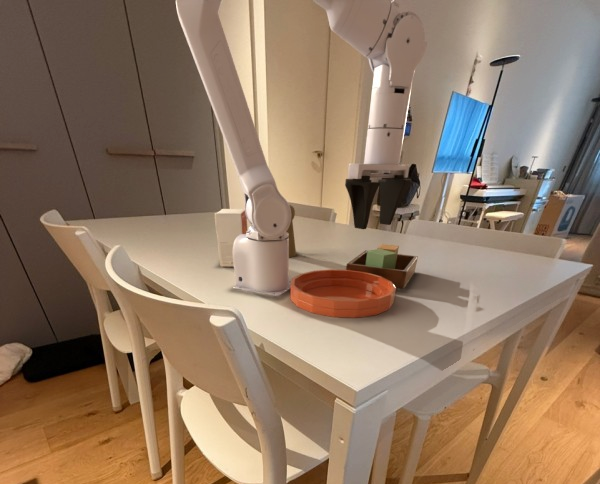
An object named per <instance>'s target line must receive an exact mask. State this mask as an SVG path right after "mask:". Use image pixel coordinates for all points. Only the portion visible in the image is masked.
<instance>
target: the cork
mask: <svg viewBox="0 0 600 484" xmlns="http://www.w3.org/2000/svg"><path fill="white" fill-rule="evenodd" d="M289 206H290V209H291V223H290V226H289V228H288V229H287V231H286V232H288V233H289V258H291V257H295V256H296V255H297V249H296V242H295V232H294V221H293V220H294V219H295V216H296V211H295V210H296V209H295V208H294V205H291V204H289Z"/></svg>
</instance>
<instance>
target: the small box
mask: <svg viewBox="0 0 600 484" xmlns="http://www.w3.org/2000/svg"><path fill="white" fill-rule="evenodd" d="M214 222H215V223H214V224H215V232H216V240H217V248H218V249H217V250H218V256H219V264H220V267H230V268H231V267H232V268H234V263H233V245H234V242H235V239H236V238H237V237H238V236H239V235H242V234H246V232H247V231H248V219H247V217H246V214H245V208H221V210H219V211H217V212H214Z"/></svg>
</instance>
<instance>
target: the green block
mask: <svg viewBox="0 0 600 484" xmlns="http://www.w3.org/2000/svg"><path fill="white" fill-rule="evenodd" d="M396 257H397V253H394V252H390V251H387V250H383V249H377V248H376V249H369V250H367V258H366V266H374V267H382V268H389V269H394V268H395V263H396Z"/></svg>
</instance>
